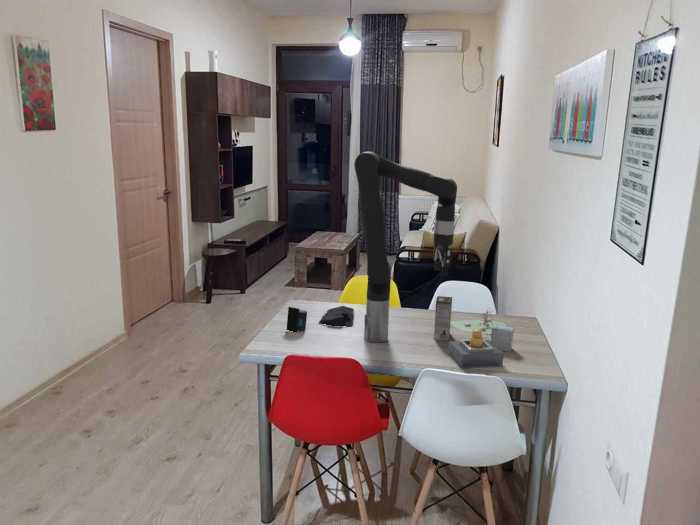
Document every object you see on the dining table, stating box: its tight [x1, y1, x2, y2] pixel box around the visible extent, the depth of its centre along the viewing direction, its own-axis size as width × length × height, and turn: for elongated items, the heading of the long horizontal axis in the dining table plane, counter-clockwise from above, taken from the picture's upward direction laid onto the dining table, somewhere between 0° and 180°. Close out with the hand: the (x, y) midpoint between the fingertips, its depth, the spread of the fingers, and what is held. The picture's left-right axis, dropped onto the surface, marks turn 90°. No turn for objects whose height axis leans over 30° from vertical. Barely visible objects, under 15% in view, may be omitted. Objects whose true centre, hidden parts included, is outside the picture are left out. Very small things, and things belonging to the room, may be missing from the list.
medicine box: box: [490, 325, 515, 352], centre depth 221 cm, size 8×4×9 cm, turn 65°
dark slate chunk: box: [318, 305, 355, 327], centre depth 252 cm, size 15×22×5 cm
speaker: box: [286, 306, 308, 333], centre depth 234 cm, size 8×6×10 cm
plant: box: [450, 309, 508, 334], centre depth 246 cm, size 25×21×9 cm
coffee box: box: [433, 295, 453, 341], centre depth 232 cm, size 9×6×16 cm
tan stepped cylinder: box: [469, 329, 484, 348], centre depth 208 cm, size 5×5×6 cm
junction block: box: [448, 338, 505, 369], centre depth 209 cm, size 16×13×6 cm
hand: (440, 273), depth 216 cm, fingers open, 8 cm apart
